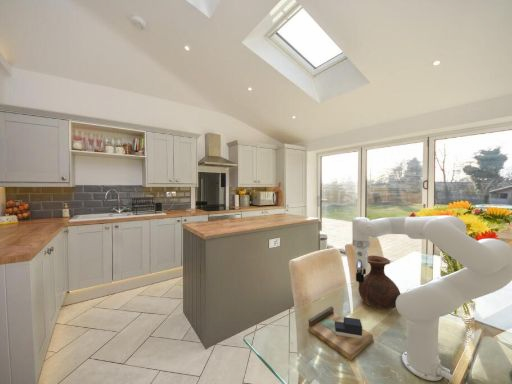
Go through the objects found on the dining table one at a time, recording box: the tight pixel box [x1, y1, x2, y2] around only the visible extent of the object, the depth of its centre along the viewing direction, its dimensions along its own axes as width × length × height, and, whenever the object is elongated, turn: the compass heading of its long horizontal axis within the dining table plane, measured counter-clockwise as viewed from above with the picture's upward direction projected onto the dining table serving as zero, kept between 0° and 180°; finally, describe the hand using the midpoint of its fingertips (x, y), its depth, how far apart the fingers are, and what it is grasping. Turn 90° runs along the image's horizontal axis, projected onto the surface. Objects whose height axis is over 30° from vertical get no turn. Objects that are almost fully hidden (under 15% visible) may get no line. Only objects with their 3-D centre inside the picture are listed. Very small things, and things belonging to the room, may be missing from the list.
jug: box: [358, 255, 401, 311], centre depth 124 cm, size 22×22×30 cm
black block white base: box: [335, 316, 363, 339], centre depth 98 cm, size 11×5×6 cm, turn 76°
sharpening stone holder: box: [308, 306, 374, 361], centre depth 101 cm, size 22×18×6 cm
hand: (361, 277), depth 104 cm, fingers open, 9 cm apart
